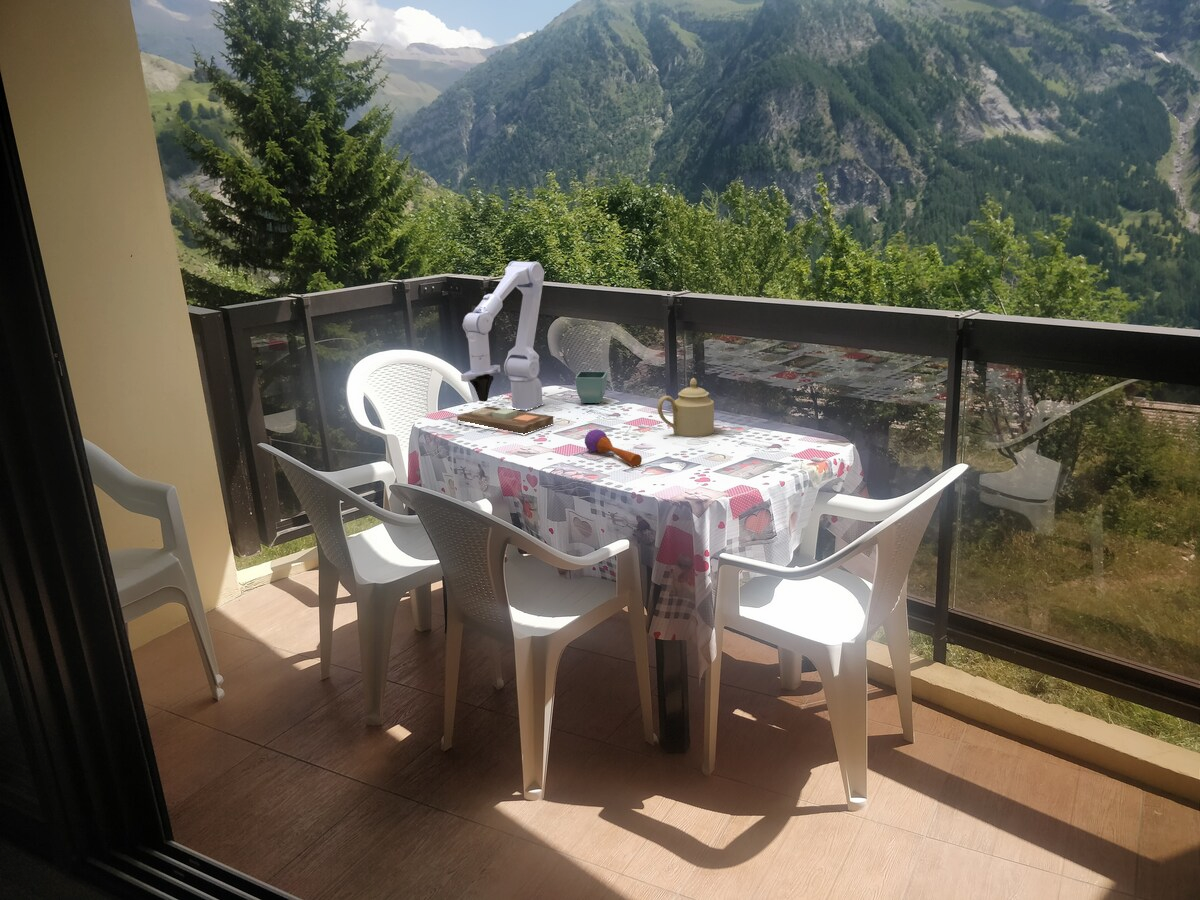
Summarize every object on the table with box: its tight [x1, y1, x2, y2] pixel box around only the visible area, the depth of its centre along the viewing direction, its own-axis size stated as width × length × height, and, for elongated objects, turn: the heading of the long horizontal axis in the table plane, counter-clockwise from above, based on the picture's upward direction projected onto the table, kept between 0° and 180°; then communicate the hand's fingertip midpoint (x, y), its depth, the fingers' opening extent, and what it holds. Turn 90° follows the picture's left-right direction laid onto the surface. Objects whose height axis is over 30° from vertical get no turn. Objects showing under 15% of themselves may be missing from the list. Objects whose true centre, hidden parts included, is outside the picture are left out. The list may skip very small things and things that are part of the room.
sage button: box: [492, 407, 518, 420], centre depth 273 cm, size 5×5×2 cm
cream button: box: [471, 407, 496, 416], centre depth 278 cm, size 5×5×2 cm
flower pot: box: [574, 370, 608, 404], centre depth 294 cm, size 9×9×9 cm
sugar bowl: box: [656, 377, 715, 438], centre depth 256 cm, size 15×11×15 cm
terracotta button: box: [514, 415, 539, 423], centre depth 269 cm, size 5×5×2 cm
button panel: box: [456, 405, 554, 434], centre depth 273 cm, size 13×25×2 cm, turn 54°
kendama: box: [584, 429, 643, 468], centre depth 239 cm, size 6×6×20 cm
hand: (483, 400), depth 276 cm, fingers closed
